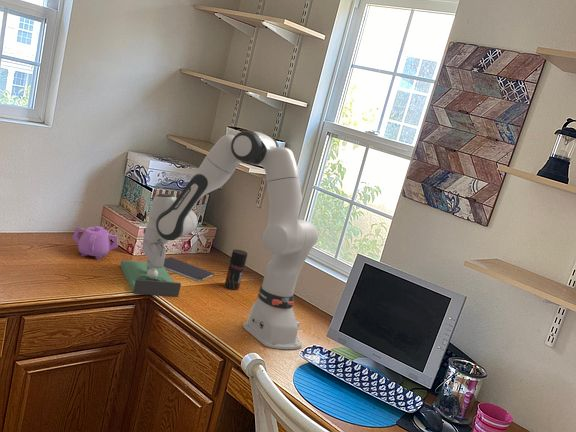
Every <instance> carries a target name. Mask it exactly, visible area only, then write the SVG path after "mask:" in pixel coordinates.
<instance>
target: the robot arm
mask: <svg viewBox="0 0 576 432" xmlns="http://www.w3.org/2000/svg"><path fill="white" fill-rule="evenodd" d="M241 163H245V164H249V165H250V164H251V165H255V166H261V167H262V168H263V170H264V172H265V178H266V185H267V195H268V202H269V213H268V220H267V225H266V228H265V229H264V232H263V234H262V244H263V246H264V248H265V250H266V251H267V252H268V253H270V254H273V255H274V256H273V257H272V258H271V260H270V261H269V262H268V264H267V266H266V269H265V272H264V276H263V279H262V280H263V281H262V285H260V287H259V290H258V293H257V297H258V298H257V299H256V301H255V302H253V303H252V306H251V308H250V311H249V314H248V317H247V319H246V321H245V322H244V323H243V324H242V328H244V329H245V331H247V332H248V333H249V334H250V335H252V337H254V338H255V339H256V340H257V341H259V342H260V343H261V344H262V345H263V346H264V347H268V348H271V349H279V350H297V349H300V348H302V346H303V345H302V342H301V341H300V339H299V337H298V332H299V328H300V322H299V321H297V320H296V313H295V312H294V308H293V307H294V305H295V304H294V303H296V302H295V294H294V292H295V289H296V285H297V281H298V278H299V275H300V272H301V270H302V268H303V266H304V264H305V262H306V260H307V259H308V255H309V253H310V252H311V250H312V248H313V247H314V246H315V245H316V244H317V242H318V240H319V232H318V229H317V227H316V226H315V225H314V224H313V223H312V222H310V221H308V220H305V219H299V215H300V214H299V211H300V207H301V206H302V205H301V204H302V203H303V194H302V188H301V187H302V186H301V180H300V173H299V169H298V163H297V161H296V158H295V155H294V152H293V151H292V150H291V149H290V148H288V147H285V146H280V145H279V143H278V141H277V140H276V139H275V137H272V136H271V135H268V134H264V133H263V132H260V131H252V130H243V131H240V132H238V133H236V135H233V134H224V135H223V136H221V137H220V138H219V139H218V140H217V141H216V143H214V145H213V146H212V147H211V149H210V150H209V151H208V153H207V154H206V156H205V157H204V159H203V160H202V162H201V164H200V166H199V167H198V168H197V169H196V171H195V172H194V174H193V176H192V177H191V179H190V180H189V181H188V182H187V184H186V185H185V187H184V188H183V189H182V191H181V192H180V193H179V194H178V196H175V195H174V194H171V193H161V194H160V193H159V194H156V195H155V196H154V197H153V199H152V201H151V203H150V208H149V212H148V222H147V223H146V227H144V228H143V238H142V239H143V240H142V251H143V253H144V255H145V257H146V258H147V259H146V260H147V261H146V262H147V270H149V269H152V268H162V267H163V265H164V260H165V259H166V247H165V245H166V244H168V243H169V241H174V240H176V239H179V238H181V237H183V236H186V235H189V234H191V233H193V232H195V230H196V229H197V228H198V225H199V220H198V216H197V213H196V212H195V211H194V210H193V208H194V207H195V206H196V204H197V203H198V202H199V200H200V199H201V198H203V197H204V196H206V195H207V194H209V193H211V192H213V191H215V190H217V189H220V188H222V186H224V185H225V184H226V182H227V181H229V179H230V178H231V177H232V175H233V174H234V173H235V171H236V169H237V167H238V166H240V165H239V164H241Z"/></svg>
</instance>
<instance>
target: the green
mask: <svg viewBox="0 0 576 432" xmlns="http://www.w3.org/2000/svg"><path fill="white" fill-rule="evenodd" d="M119 266H121V267H120V269H121V271H122V273H123V275H124V277H125V280H127V283H128V286H129V287H130V289H131V292H132V293H133V295H148V296H149V295H150V296H160V297H161V296H162V297H175V298H178V297H179V295H180V291H181V286H182V283H181V282H176V281H174V280H173V278H172V277H171V275H170V274H169V272H168V270H166V269H165V268H164V266H163V267H162V268H154V269H156V270H157V271H158V277H157V278H156V279H149V278H148V276H147V272H148V270H147V261H139V260H138V261H136V260H127V259H126V260H125V259H121V260H120V264H119Z"/></svg>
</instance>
